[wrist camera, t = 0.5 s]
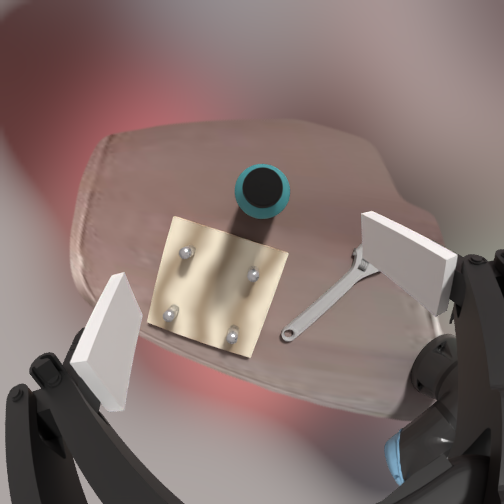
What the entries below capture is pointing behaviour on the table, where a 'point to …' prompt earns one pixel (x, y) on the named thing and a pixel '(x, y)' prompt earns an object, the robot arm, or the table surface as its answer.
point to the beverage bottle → (262, 191)
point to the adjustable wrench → (331, 295)
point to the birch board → (215, 286)
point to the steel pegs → (174, 309)
